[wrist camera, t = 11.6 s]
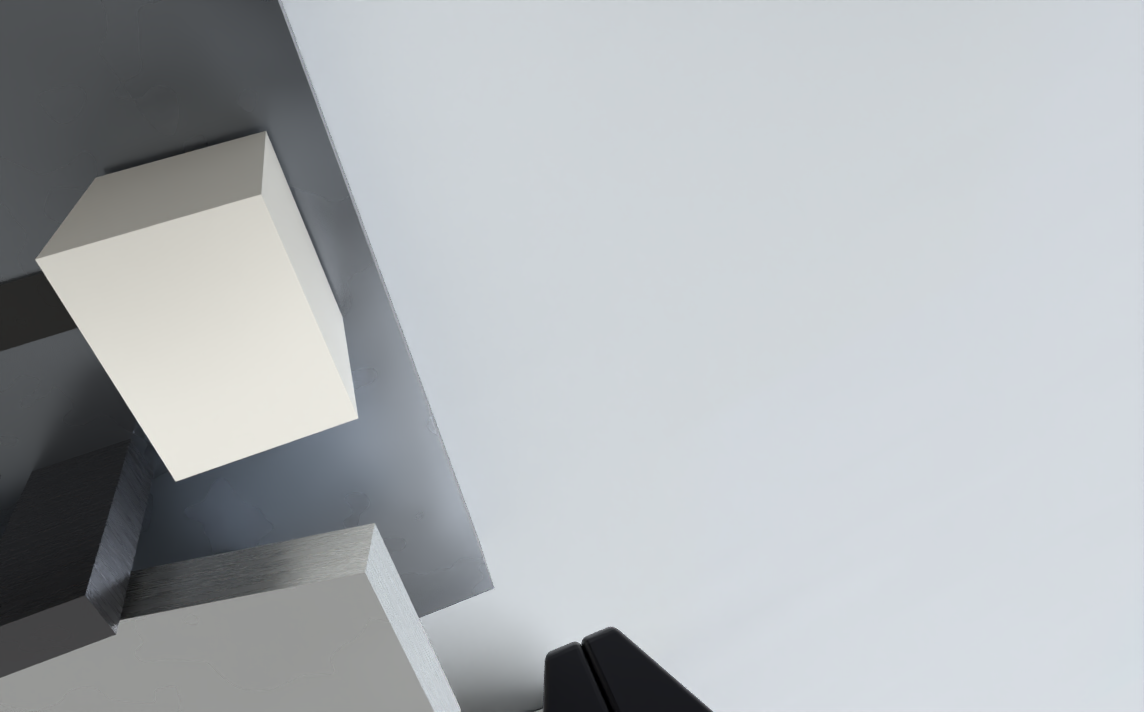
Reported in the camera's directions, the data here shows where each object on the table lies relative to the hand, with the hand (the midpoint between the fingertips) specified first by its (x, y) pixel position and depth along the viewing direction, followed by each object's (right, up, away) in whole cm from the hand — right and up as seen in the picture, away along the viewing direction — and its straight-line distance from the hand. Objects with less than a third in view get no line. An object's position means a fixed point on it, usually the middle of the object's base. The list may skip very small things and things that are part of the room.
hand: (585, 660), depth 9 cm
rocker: (-9, -4, +7) cm, 12 cm away
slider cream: (-7, +5, +6) cm, 11 cm away
